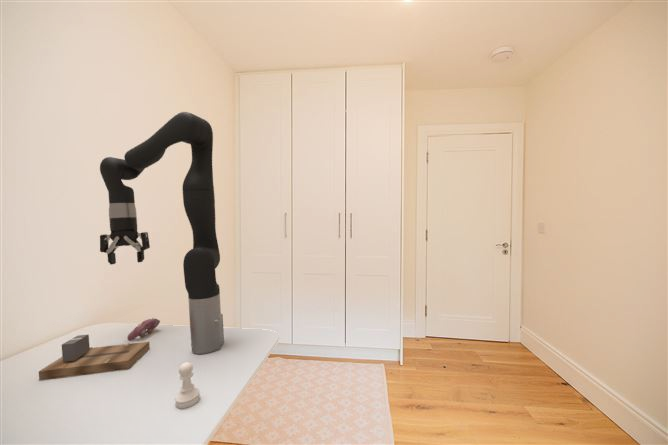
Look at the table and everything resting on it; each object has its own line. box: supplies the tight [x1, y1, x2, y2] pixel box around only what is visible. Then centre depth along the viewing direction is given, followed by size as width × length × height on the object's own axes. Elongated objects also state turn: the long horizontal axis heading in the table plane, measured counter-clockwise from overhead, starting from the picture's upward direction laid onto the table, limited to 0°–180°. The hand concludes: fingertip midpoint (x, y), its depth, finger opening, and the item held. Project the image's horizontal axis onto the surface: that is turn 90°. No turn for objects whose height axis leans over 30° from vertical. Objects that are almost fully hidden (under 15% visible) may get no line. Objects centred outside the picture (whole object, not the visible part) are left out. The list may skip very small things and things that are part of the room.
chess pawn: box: [174, 362, 201, 410], centre depth 63 cm, size 5×5×9 cm
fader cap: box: [61, 334, 90, 362], centre depth 81 cm, size 3×6×5 cm, turn 10°
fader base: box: [38, 341, 151, 381], centre depth 82 cm, size 22×12×3 cm, turn 100°
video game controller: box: [126, 317, 161, 342], centre depth 101 cm, size 10×5×7 cm, turn 170°
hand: (126, 263), depth 95 cm, fingers open, 8 cm apart
